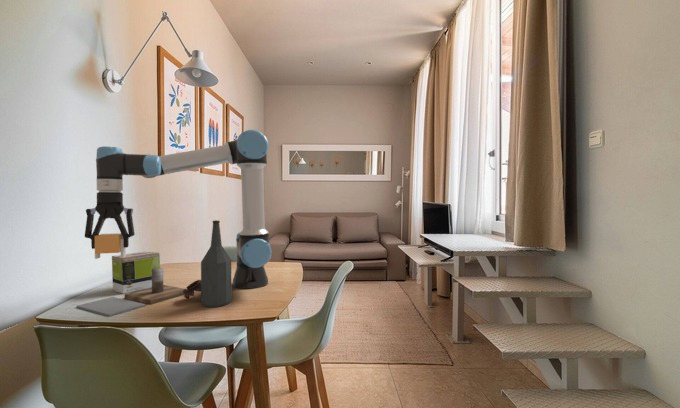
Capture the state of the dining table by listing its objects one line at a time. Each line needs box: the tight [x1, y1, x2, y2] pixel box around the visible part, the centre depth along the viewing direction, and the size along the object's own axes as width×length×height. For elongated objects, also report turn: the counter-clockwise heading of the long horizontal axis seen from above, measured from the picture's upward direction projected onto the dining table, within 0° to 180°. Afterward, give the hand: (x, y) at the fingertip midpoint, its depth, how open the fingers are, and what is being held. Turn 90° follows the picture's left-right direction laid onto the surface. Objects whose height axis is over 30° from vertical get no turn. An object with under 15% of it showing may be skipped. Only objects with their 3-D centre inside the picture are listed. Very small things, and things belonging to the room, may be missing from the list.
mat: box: [75, 296, 147, 317], centre depth 118 cm, size 20×12×1 cm, turn 63°
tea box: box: [111, 250, 161, 294], centre depth 143 cm, size 15×10×15 cm
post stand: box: [123, 267, 187, 305], centre depth 132 cm, size 16×16×10 cm
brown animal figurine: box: [183, 279, 201, 300], centre depth 128 cm, size 12×10×8 cm
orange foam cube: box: [94, 232, 123, 255], centre depth 118 cm, size 7×7×6 cm
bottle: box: [200, 219, 233, 308], centre depth 122 cm, size 10×10×30 cm
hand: (110, 257), depth 118 cm, fingers closed on orange foam cube, 7 cm apart
